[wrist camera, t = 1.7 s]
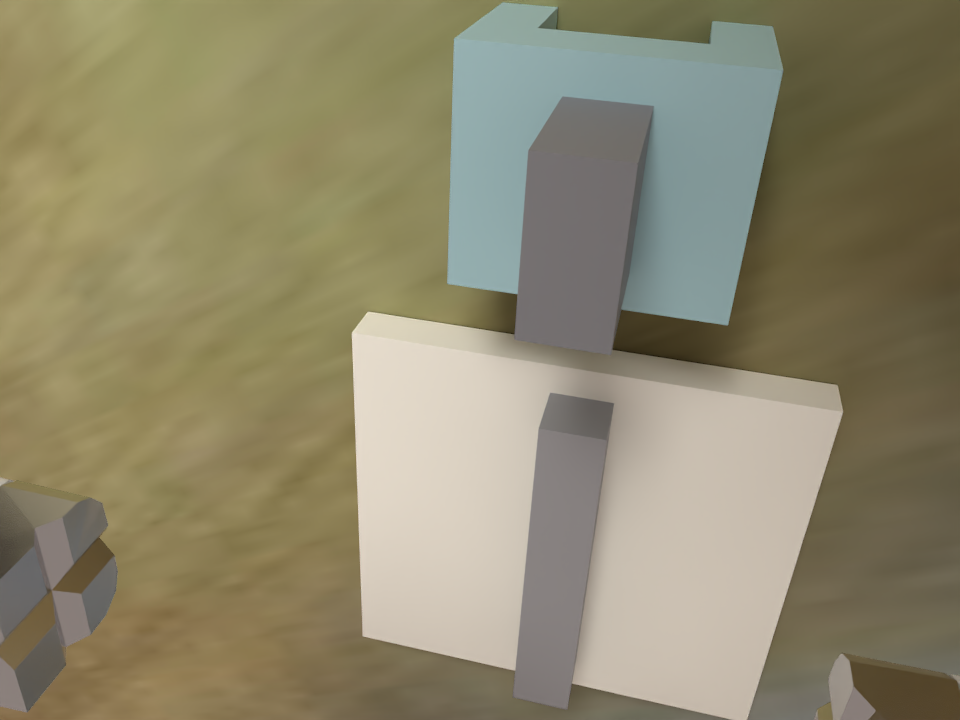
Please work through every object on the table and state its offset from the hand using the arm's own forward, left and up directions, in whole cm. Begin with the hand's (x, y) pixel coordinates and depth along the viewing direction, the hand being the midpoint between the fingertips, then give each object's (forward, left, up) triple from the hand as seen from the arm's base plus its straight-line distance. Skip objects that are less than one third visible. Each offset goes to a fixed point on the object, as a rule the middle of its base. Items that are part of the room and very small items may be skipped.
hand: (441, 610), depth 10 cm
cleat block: (0, 0, -18) cm, 18 cm away
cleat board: (+14, 0, -18) cm, 23 cm away
